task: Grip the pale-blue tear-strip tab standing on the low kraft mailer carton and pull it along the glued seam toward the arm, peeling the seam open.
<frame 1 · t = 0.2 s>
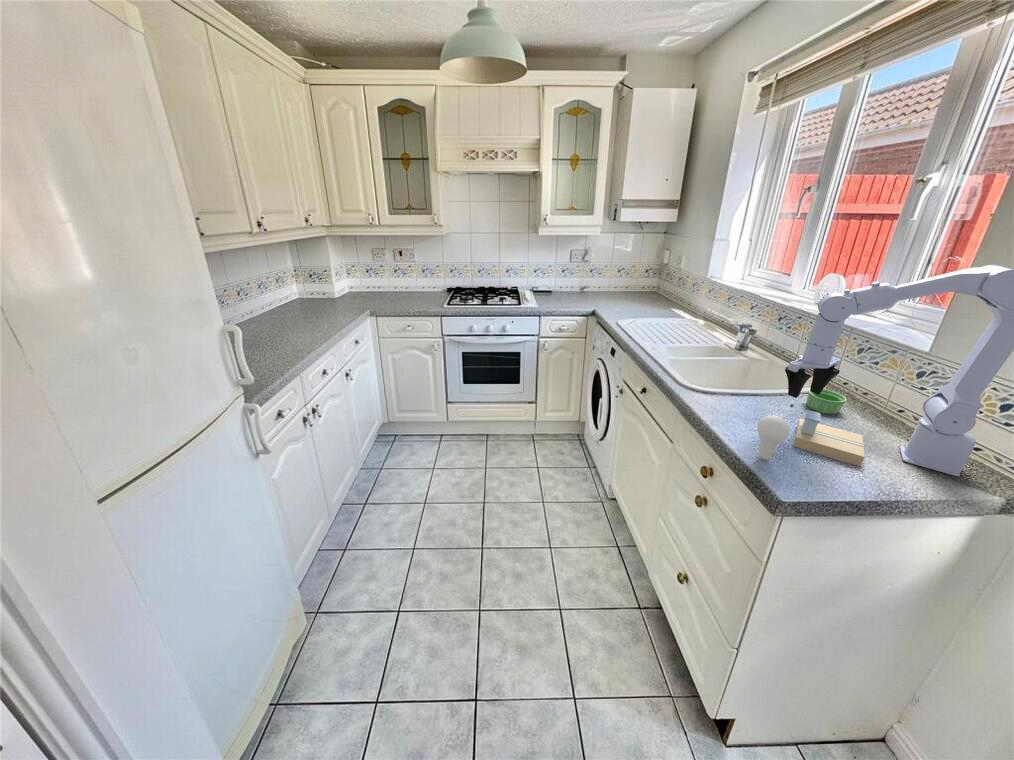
hand: (803, 394, 104), 10 cm above the worktop, fingers open, 7 cm apart
lightbulb: (762, 459, 94), on the worktop
ramekin: (821, 408, 120), on the worktop
carton: (825, 445, 101), on the worktop
tab: (810, 422, 101), point 5 cm above the worktop, slide at 0.0 cm
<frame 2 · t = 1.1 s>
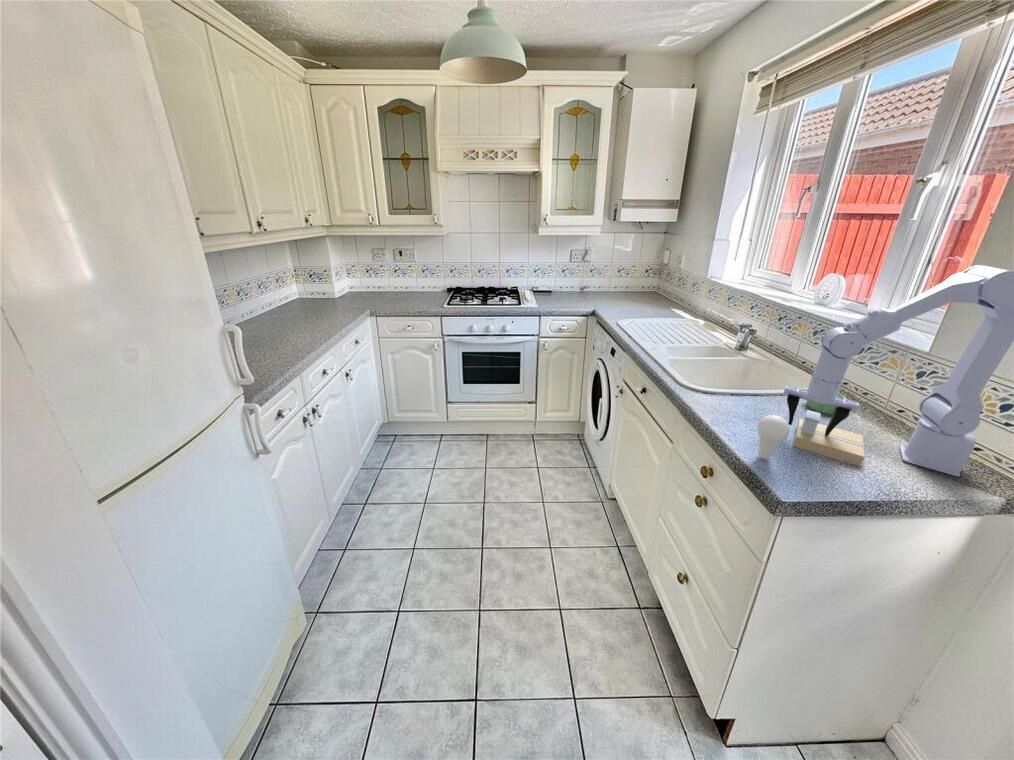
hand: (808, 428, 102), 3 cm above the worktop, fingers open, 7 cm apart
nothing on the worktop moved.
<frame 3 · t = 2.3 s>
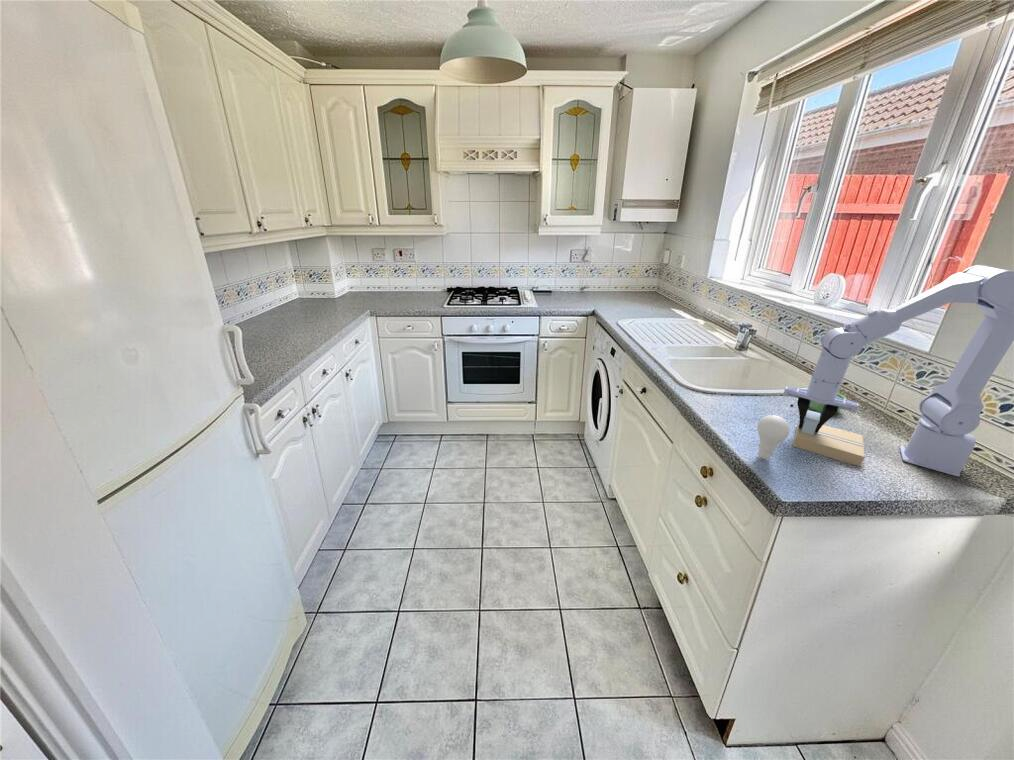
hand: (808, 428, 102), 3 cm above the worktop, fingers closed on tab, 3 cm apart
tab: (810, 422, 101), point 5 cm above the worktop, slide at 0.0 cm, touching gripper
everything else where it was.
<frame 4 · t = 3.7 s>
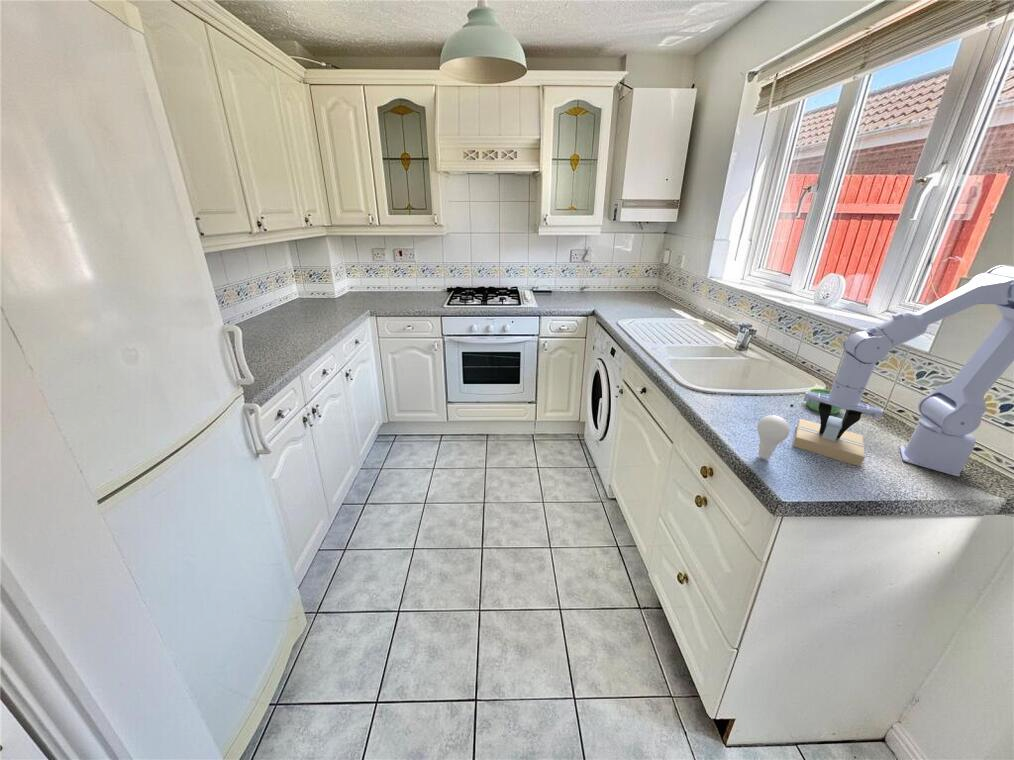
hand: (829, 434, 99), 3 cm above the worktop, fingers closed on tab, 3 cm apart
tab: (831, 428, 99), point 5 cm above the worktop, slide at 4.3 cm, touching gripper
everything else where it was.
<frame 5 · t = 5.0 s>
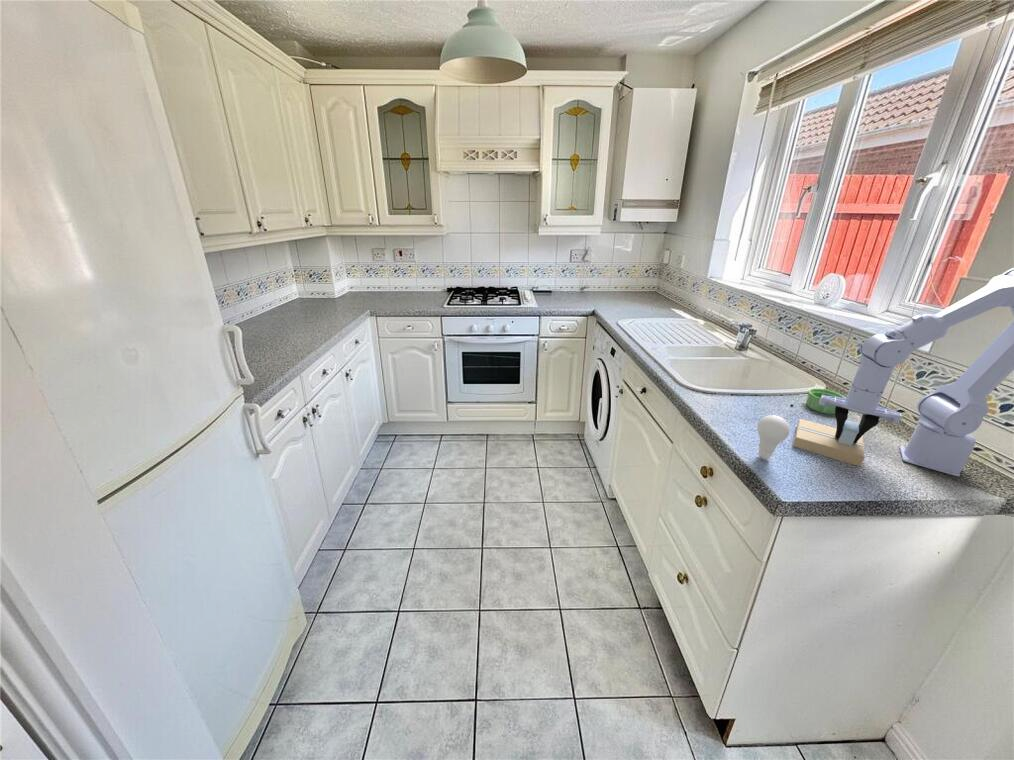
hand: (845, 439, 98), 3 cm above the worktop, fingers closed on tab, 3 cm apart
tab: (848, 432, 97), point 5 cm above the worktop, slide at 7.5 cm, touching gripper
everything else where it was.
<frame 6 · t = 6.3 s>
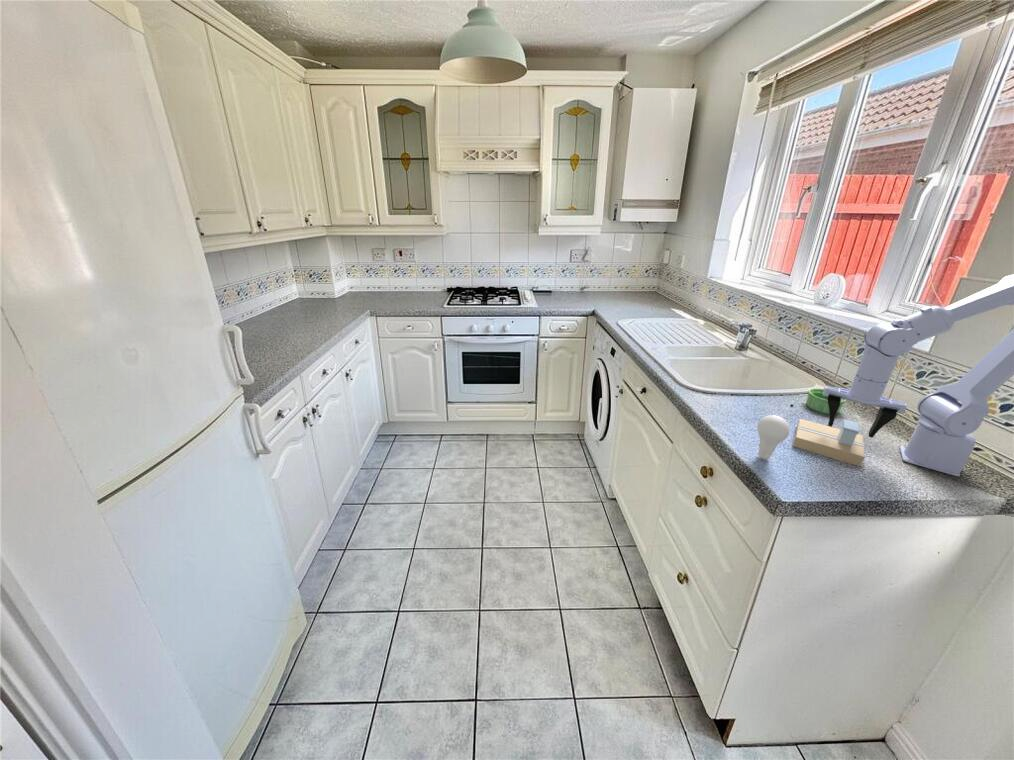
hand: (849, 430, 97), 5 cm above the worktop, fingers open, 7 cm apart
tab: (848, 432, 97), point 5 cm above the worktop, slide at 7.5 cm
everything else where it was.
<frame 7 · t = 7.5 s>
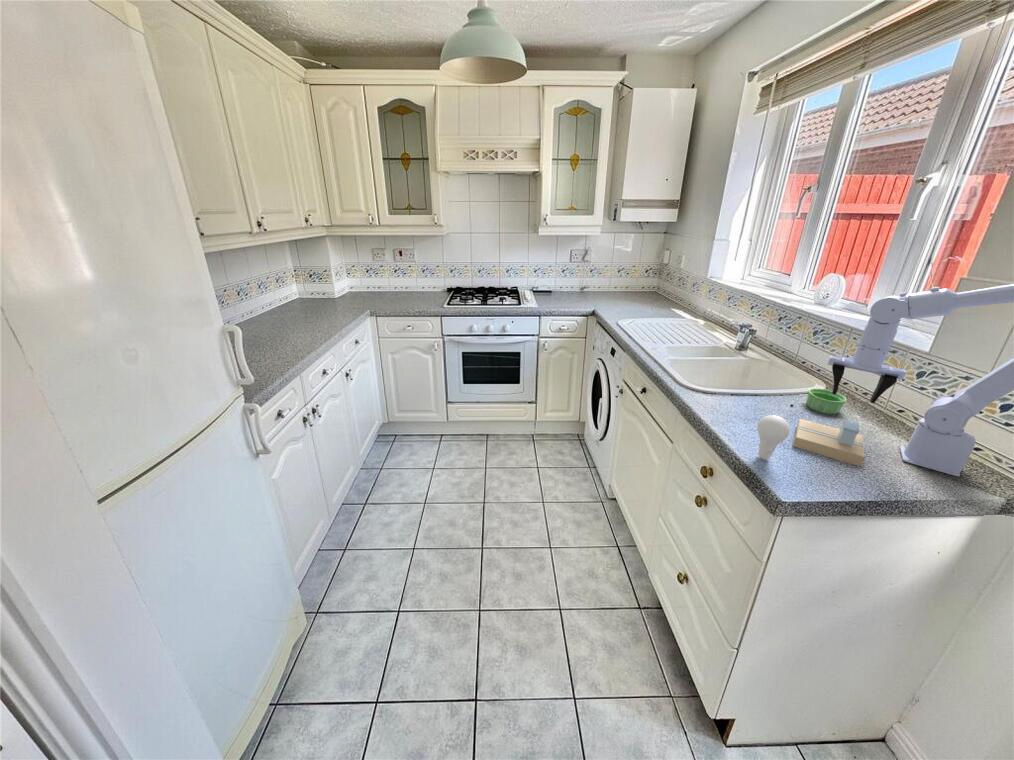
hand: (852, 397, 103), 10 cm above the worktop, fingers open, 7 cm apart
nothing on the worktop moved.
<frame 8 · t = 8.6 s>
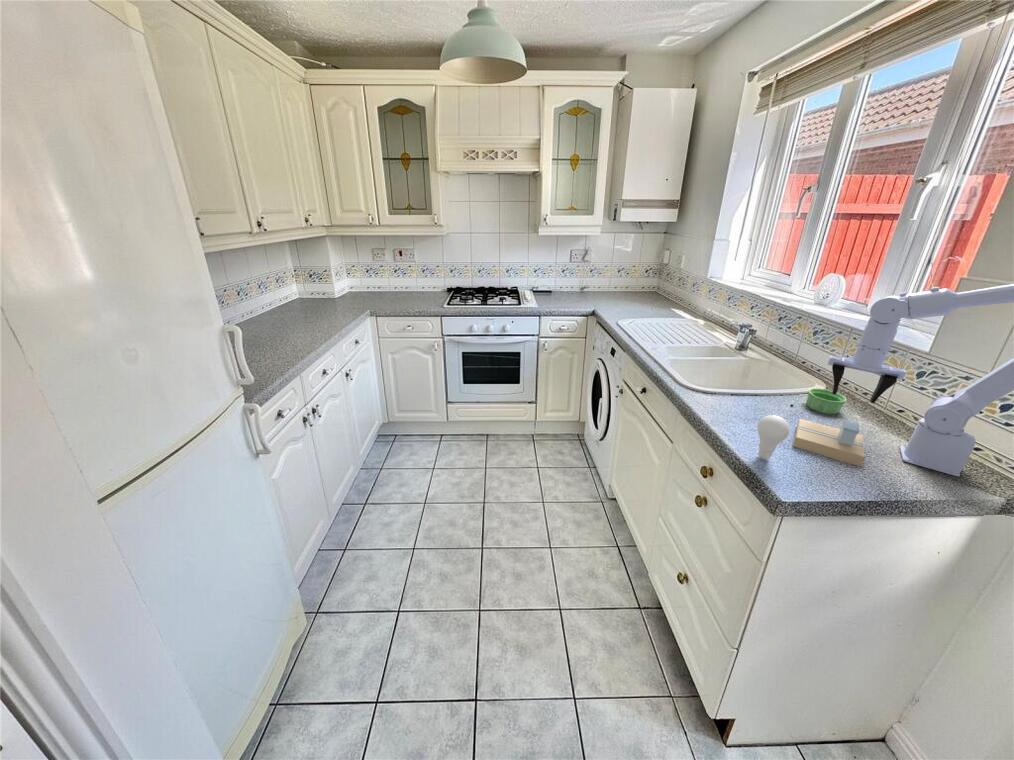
hand: (852, 397, 103), 10 cm above the worktop, fingers open, 7 cm apart
nothing on the worktop moved.
at the end: tab slide at 7.5 cm; the gripper is holding nothing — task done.
